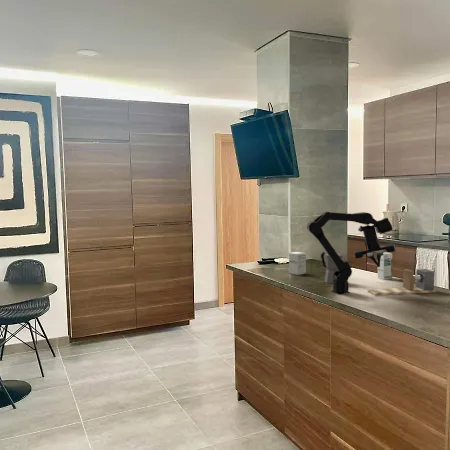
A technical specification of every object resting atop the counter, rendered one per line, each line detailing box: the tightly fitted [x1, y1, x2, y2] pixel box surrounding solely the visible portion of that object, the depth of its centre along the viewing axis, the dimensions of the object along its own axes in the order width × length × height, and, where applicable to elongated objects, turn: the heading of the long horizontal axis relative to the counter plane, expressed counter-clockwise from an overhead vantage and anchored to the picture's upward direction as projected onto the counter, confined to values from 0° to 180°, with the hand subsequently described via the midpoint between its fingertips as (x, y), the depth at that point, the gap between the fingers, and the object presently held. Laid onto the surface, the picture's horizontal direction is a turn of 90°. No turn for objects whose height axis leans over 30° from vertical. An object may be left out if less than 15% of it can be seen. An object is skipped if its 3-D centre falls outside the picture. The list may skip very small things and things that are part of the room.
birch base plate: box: [367, 286, 436, 296], centre depth 216 cm, size 30×8×1 cm, turn 97°
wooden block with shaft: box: [402, 268, 423, 290], centre depth 217 cm, size 12×6×9 cm, turn 97°
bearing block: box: [415, 268, 435, 291], centre depth 217 cm, size 5×7×9 cm
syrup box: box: [377, 251, 393, 280], centre depth 248 cm, size 6×6×14 cm
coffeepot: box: [320, 248, 343, 284], centre depth 243 cm, size 15×9×18 cm, turn 33°
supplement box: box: [288, 251, 307, 276], centre depth 268 cm, size 7×7×13 cm
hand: (379, 266), depth 219 cm, fingers closed
